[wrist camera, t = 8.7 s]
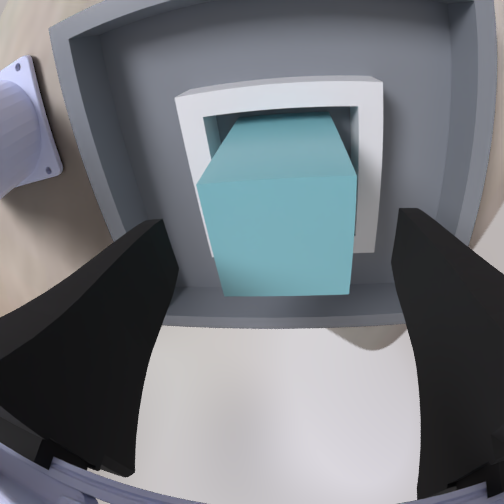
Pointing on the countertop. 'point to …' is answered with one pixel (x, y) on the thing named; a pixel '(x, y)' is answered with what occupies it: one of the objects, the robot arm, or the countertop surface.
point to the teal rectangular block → (281, 207)
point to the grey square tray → (281, 102)
